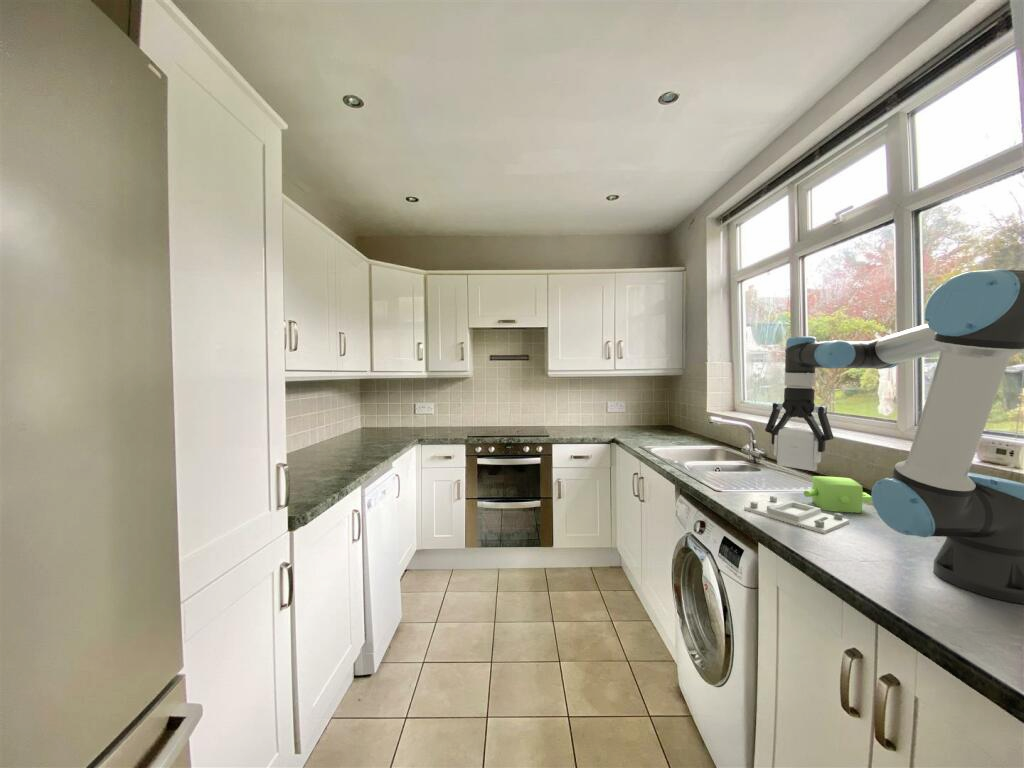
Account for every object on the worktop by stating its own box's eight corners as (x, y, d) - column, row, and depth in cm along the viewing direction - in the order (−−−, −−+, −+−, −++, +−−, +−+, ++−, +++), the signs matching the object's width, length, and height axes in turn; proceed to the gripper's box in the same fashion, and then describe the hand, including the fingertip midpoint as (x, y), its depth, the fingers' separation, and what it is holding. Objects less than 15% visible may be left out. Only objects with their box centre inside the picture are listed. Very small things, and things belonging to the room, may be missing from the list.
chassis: (849, 523, 117) (849, 514, 117) (824, 533, 109) (824, 525, 109) (770, 501, 136) (770, 494, 136) (744, 509, 128) (744, 502, 128)
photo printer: (774, 465, 124) (776, 426, 123) (779, 463, 127) (780, 425, 126) (814, 472, 116) (816, 430, 115) (818, 470, 119) (820, 429, 118)
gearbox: (808, 511, 128) (809, 483, 127) (796, 500, 137) (797, 474, 137) (876, 517, 123) (877, 487, 122) (859, 505, 132) (860, 478, 131)
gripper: (850, 388, 112) (847, 465, 113) (766, 385, 132) (763, 450, 133) (839, 389, 109) (836, 468, 109) (754, 385, 128) (751, 452, 129)
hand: (796, 458), depth 121 cm, fingers closed on photo printer, 10 cm apart
